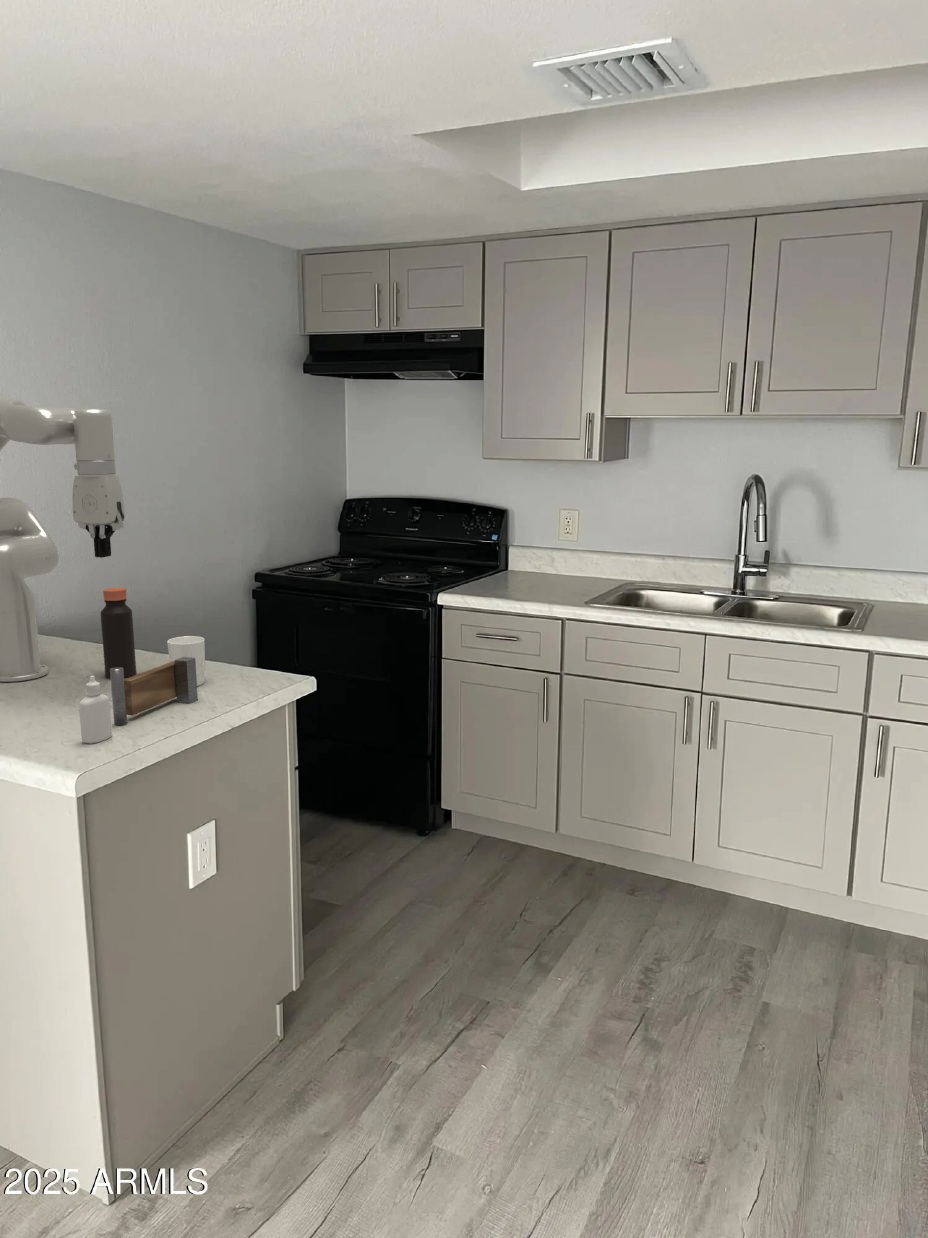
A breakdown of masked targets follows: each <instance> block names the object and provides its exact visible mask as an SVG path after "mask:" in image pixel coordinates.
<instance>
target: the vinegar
mask: <svg viewBox="0 0 928 1238" xmlns="http://www.w3.org/2000/svg"><path fill="white" fill-rule="evenodd" d="M102 593H103V600H104V601H103V602H104V603H105V606H104V607H103V608H102V610H100V625H101V626H100V627H101V635H102V650H103V661H104V675H105V677H107V678H108V679H111V677H110V669H111V668H114V667H122V668H123V672H124V679H127V678H129V677H132V676H135V675H137V662H136V648H135V647H136V646H135V635H134V633H135V632H134V621H133V609H131V608H130V607H129V606H128V605H127V604H126V602H127V588H124V587H111V588H106V589H105V588H104V589H103V590H102Z"/></svg>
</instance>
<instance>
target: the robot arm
mask: <svg viewBox="0 0 928 1238" xmlns="http://www.w3.org/2000/svg"><path fill="white" fill-rule="evenodd" d="M113 431H114V430H113V417H112V413H111V412H110V411H109V410H108V409H105V408H77V407H48V406H47V407H42V406H41V407H39V406H37V407H36V406H28V405H27V404H26V403H25V402H23V400H21V399H18V398H13V397H12V396H10V395H7V394H0V452H1V451H2V450H3V449H4V447H5V446H6V445H7V444H8V443H9V442H10V441H14V442H19V443H24V444H30V445H37V446H38V445H41V446H51V445H74V446H75V459H76V463H74V465H73V468H74V470H76V471H77V475H75V476H74V478H73V485H72V517H73V521H74V522H75V523H76V524H77V525H78V528H80V529H82V530H86V531H87V532H88V533H89V536H90V538H91V539H93V549H94V556H95V558H108V557H112V546H111V544H112V543H111V538H112V537H113V535H114V534H115V532H116V531H119V530H122V529H124V528H125V527H124V520H125V516H126V515H125V514H126V513H125V502H124V496H123V495H124V494H123V490H122V486H121V482H120V478H119V476H118V475H117V471H116V470H117V469H116V460H115V445H114V433H113ZM58 563H59V550H58V548H57V546H56V544H55V542H54V540H53V539H52V537H51V535H50V534H49V533H48V531H47V529H46V528H45V527H44V525H43V524H42V522H41V521H40V520H39V518H38V517H37V515H36V513H34V510H32V509H31V507H30V506H29V505H28V504H27V503H26V502H24V501H23V500H21V499H18V498H16V497H0V682H1V683H2V682H4V683H11V682H13V683H14V682H23V681H29V680H34V679H39V678H41V677H44V676H45V675H48V673H49V666H47V665H45V664H41V655H40V644H39V643H40V642H39V635H38V633H39V631H38V622H37V614H36V613H37V611H36V602H35V596H34V593H33V592H32V589H31V588H30V587H29V585H28V584H27V583H26V580H25V579H26V578H31V577H36V576H41V575H46V574H49V573H50V572H52V571H54V570H55V569H56V568H57V566H58Z"/></svg>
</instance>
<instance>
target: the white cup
mask: <svg viewBox="0 0 928 1238" xmlns="http://www.w3.org/2000/svg"><path fill="white" fill-rule="evenodd" d="M205 639H206V638H204V637H202V636H198V635H197V636H195V635H187V636H186V635H185V636H176V637H172V638H170V639H168V640H167V641H166V643H167V650H168V661H169V662H172V661H174V660H176V659H179V658H181V657H191V658H195V661H196V678H197V687H198V686H199V687H200V686H202V685H203V684H205V670H206V669H205V664H206V662H205V660H206V658H205V657H206V655H205V654H206V653H205V652H206V648H205V646H206V645H205V642H206V641H205Z"/></svg>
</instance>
